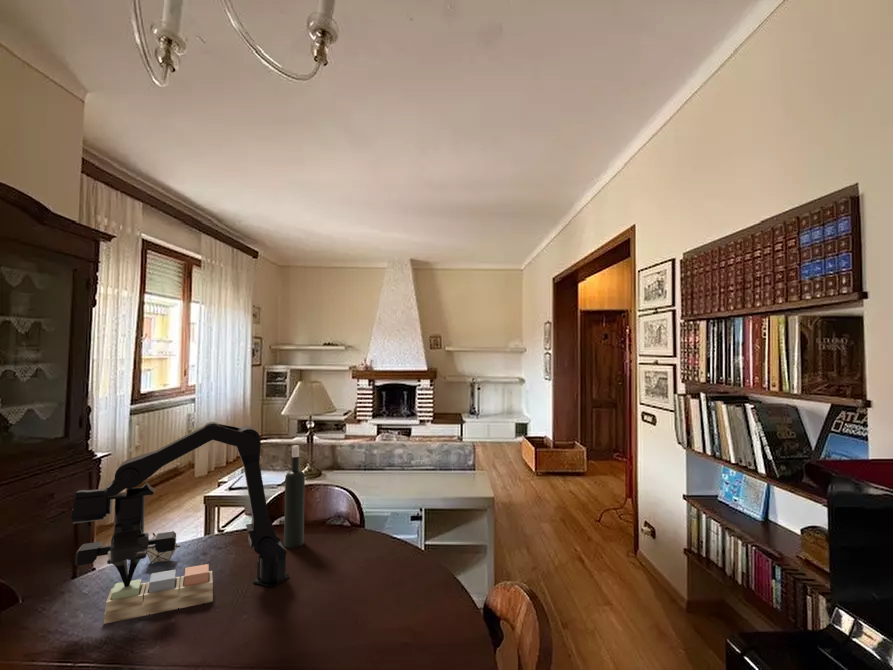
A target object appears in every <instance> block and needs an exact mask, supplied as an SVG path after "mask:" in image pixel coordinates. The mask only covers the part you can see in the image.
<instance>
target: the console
mask: <svg viewBox="0 0 893 670" xmlns="http://www.w3.org/2000/svg"><path fill="white" fill-rule="evenodd" d="M184 580H185V575H182V576H176V583H175V588H174V589H168V590H163V591H157V592H152V593H149V582H150V581H148V582H141V593H140V595H136V596H131V597H125V598H120V599H115V600H112V592H113V589H114V587H113V588H111V589H110V592H109V594H108V596H107V599H106V602H105V610H104V614H103V625H106V624H109V623H115V622H119V621H124V620H129V619H134V618H140V617H145V616H149V614H150V615H154V614H159V613H164V612H168V611H173V610H179V609H184V608H188V607H192V606H198V605H202V604H203V603H204V604H209V603H213V601H214V598H213V597H214V584H213V580H214V579H213V570H209V575H208V582H206V583H200V584H195V585H190V586H184ZM178 608H179V609H178Z"/></svg>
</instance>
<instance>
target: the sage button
mask: <svg viewBox="0 0 893 670" xmlns="http://www.w3.org/2000/svg"><path fill="white" fill-rule="evenodd" d="M141 583H142V578H139V579H133V580H132V579H131V582H130V585H129V586H128V587H125V586H124V584H123V581H122V582H117V583H115V584H114V586H113V588H114V589H113V588H112V589H113V592H112V600H115V599H120V598H125V597H131V596H136V595H140V593H141Z"/></svg>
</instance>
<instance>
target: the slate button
mask: <svg viewBox="0 0 893 670" xmlns="http://www.w3.org/2000/svg"><path fill="white" fill-rule="evenodd" d="M176 570H177V569H171V570H166V571H159V572H153V573H150V574H151V575H150V579H149V581H148V582H149V593H152V592H157V591H163V590H168V589H174V588H175V583H176V577H177V571H176Z"/></svg>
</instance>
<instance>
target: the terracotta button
mask: <svg viewBox="0 0 893 670" xmlns="http://www.w3.org/2000/svg"><path fill="white" fill-rule="evenodd" d="M209 568H210V567H209V563H207V564H206V563H205V564H200V565H194V566H189V567H185V570H184V576H185V580H184V586H190V585H195V584H200V583H206V582H208V575H209V571H210V570H209Z"/></svg>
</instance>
